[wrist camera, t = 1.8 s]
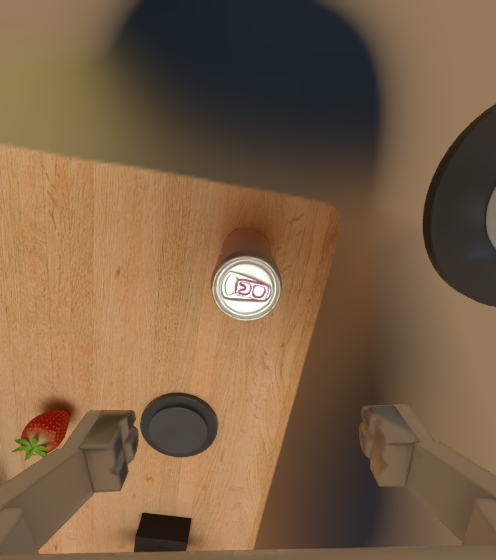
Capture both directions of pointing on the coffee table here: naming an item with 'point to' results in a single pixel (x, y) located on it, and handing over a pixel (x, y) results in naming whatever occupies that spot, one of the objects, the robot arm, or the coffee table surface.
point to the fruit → (44, 433)
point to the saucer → (179, 425)
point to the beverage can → (246, 276)
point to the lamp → (162, 533)
